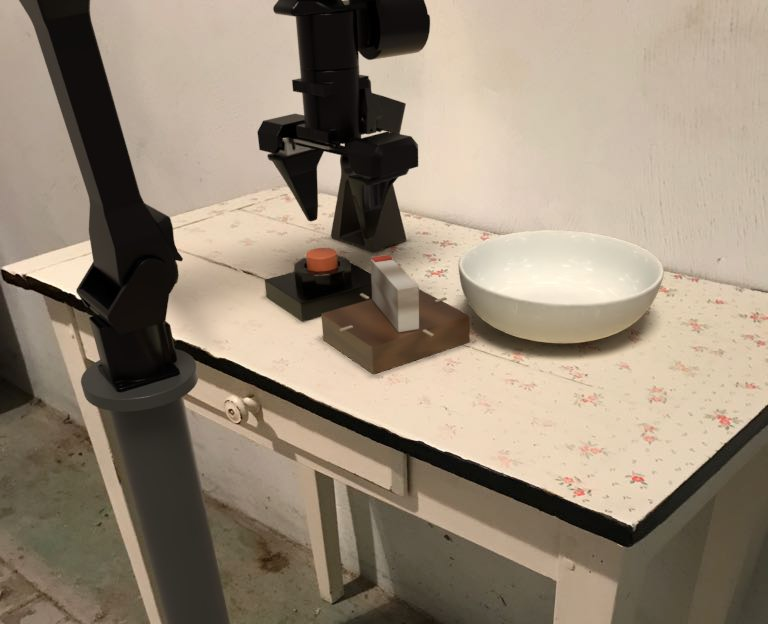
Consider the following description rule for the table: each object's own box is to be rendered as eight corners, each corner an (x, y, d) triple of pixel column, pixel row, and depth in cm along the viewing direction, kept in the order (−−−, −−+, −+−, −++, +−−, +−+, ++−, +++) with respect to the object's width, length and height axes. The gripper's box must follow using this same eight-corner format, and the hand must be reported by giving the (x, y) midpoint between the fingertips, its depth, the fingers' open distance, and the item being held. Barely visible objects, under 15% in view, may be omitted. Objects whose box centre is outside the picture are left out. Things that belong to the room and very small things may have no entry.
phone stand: (406, 241, 112) (405, 147, 105) (374, 253, 109) (370, 157, 102) (363, 227, 117) (358, 137, 110) (330, 238, 114) (324, 146, 107)
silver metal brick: (419, 329, 82) (418, 283, 79) (398, 332, 81) (397, 286, 79) (391, 296, 89) (390, 253, 86) (372, 299, 88) (370, 256, 86)
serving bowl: (500, 382, 79) (504, 314, 75) (432, 301, 95) (432, 242, 91) (692, 350, 83) (706, 284, 79) (596, 278, 99) (603, 220, 95)
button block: (302, 321, 92) (299, 287, 89) (266, 297, 98) (262, 264, 96) (384, 298, 96) (383, 264, 94) (345, 275, 103) (343, 244, 100)
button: (316, 276, 93) (315, 260, 92) (301, 267, 96) (300, 252, 94) (343, 268, 95) (342, 253, 94) (328, 260, 97) (327, 245, 96)
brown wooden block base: (377, 382, 80) (375, 352, 78) (311, 336, 89) (308, 308, 87) (483, 346, 85) (484, 317, 83) (411, 306, 94) (410, 279, 92)
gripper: (457, 63, 78) (454, 228, 87) (328, 47, 89) (338, 196, 98) (373, 81, 72) (379, 256, 81) (245, 62, 83) (264, 218, 92)
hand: (340, 229), depth 88 cm, fingers open, 9 cm apart
